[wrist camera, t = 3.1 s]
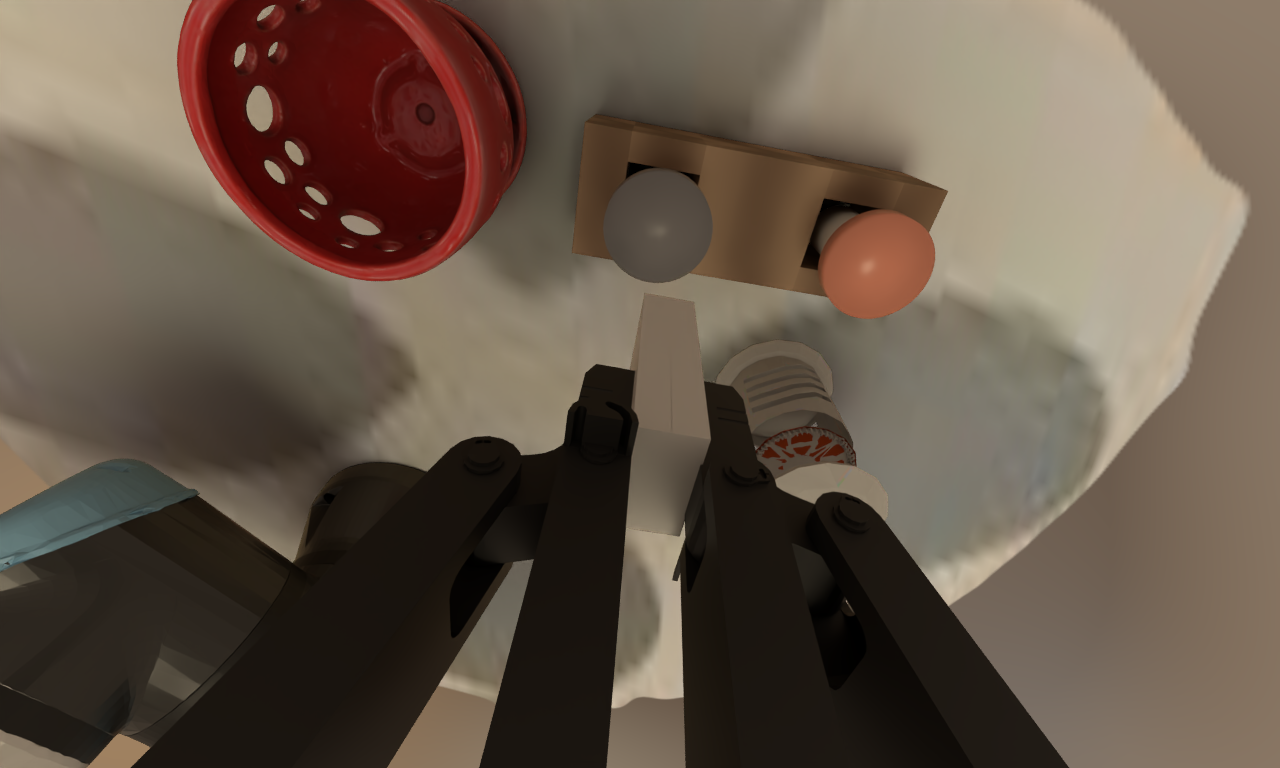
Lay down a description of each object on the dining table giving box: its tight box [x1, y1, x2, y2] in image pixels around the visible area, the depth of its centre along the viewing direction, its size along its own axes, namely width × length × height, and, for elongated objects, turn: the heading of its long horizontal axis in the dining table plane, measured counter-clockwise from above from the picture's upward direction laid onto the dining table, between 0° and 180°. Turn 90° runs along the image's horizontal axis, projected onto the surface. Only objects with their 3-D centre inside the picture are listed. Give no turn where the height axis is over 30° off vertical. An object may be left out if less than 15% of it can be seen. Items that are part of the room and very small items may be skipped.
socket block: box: [572, 114, 948, 297], centre depth 31 cm, size 20×7×6 cm, turn 80°
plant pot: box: [177, 0, 527, 281], centre depth 27 cm, size 13×13×12 cm
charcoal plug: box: [603, 168, 713, 283], centre depth 27 cm, size 5×5×7 cm
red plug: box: [810, 205, 935, 319], centre depth 28 cm, size 5×5×7 cm
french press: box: [716, 340, 888, 611], centre depth 31 cm, size 10×12×25 cm
